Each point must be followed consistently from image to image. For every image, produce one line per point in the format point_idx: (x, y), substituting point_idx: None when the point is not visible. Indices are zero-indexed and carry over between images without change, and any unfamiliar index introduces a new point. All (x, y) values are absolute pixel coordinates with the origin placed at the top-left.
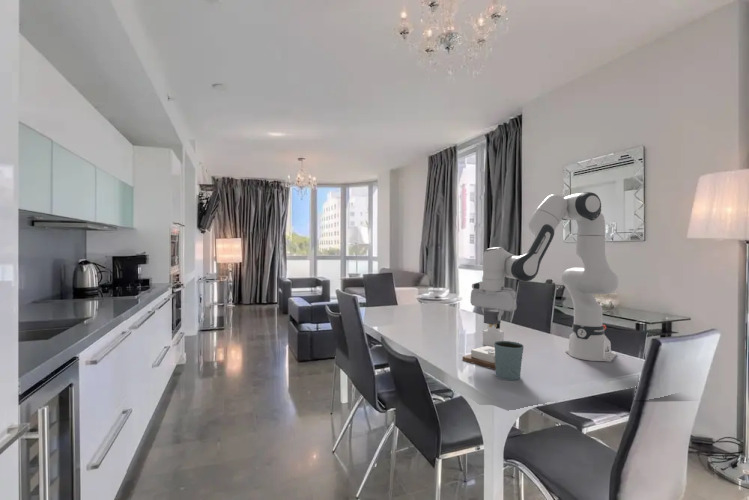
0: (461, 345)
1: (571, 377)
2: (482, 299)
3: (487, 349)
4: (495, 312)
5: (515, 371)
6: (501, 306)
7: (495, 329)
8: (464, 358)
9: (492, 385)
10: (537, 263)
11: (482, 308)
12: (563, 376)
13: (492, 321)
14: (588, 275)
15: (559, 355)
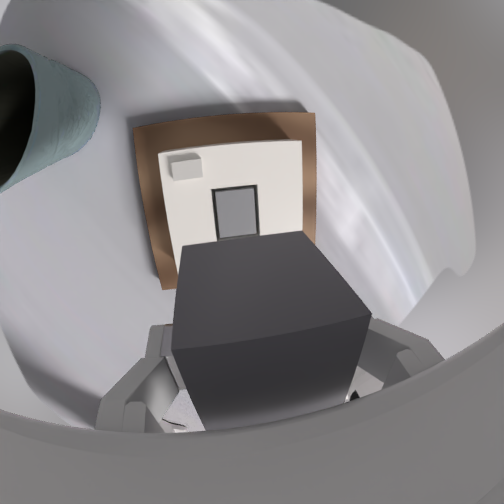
0: (411, 267)
1: (11, 288)
2: (501, 448)
3: (259, 218)
4: (187, 386)
5: (16, 113)
6: (46, 469)
7: (356, 385)
8: (301, 112)
9: (50, 18)
10: None
11: (425, 354)
12: (18, 278)
13: (186, 260)
14: None
15: (171, 407)
